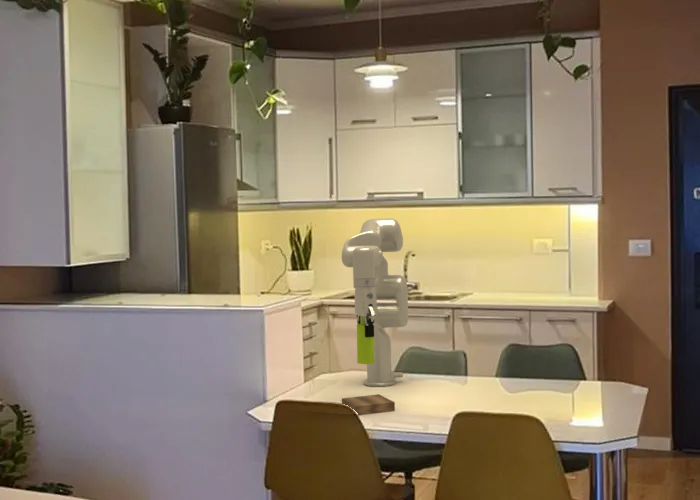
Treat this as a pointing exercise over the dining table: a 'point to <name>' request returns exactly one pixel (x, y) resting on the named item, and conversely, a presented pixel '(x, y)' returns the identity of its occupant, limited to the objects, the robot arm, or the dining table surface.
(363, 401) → the block
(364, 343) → the soap dispenser
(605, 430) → the dining table surface
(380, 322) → the robot arm
